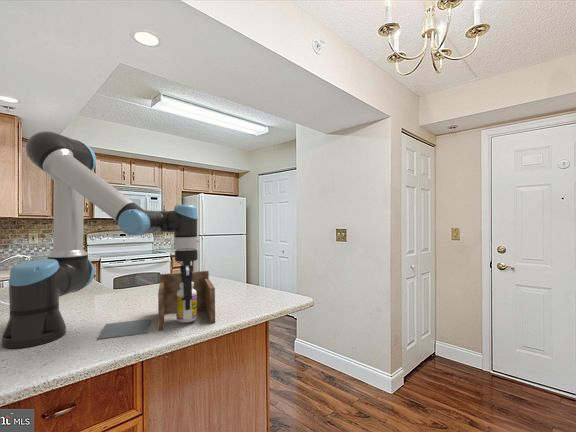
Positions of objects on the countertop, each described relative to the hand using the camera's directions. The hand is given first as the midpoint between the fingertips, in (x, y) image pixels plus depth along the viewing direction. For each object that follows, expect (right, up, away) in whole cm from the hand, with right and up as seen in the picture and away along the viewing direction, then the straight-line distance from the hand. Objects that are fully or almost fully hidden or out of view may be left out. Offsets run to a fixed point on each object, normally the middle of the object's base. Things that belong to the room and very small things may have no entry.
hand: (186, 315), depth 106 cm
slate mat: (-18, -3, -5) cm, 19 cm away
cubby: (-2, -3, +5) cm, 6 cm away
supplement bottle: (0, -2, 0) cm, 2 cm away
